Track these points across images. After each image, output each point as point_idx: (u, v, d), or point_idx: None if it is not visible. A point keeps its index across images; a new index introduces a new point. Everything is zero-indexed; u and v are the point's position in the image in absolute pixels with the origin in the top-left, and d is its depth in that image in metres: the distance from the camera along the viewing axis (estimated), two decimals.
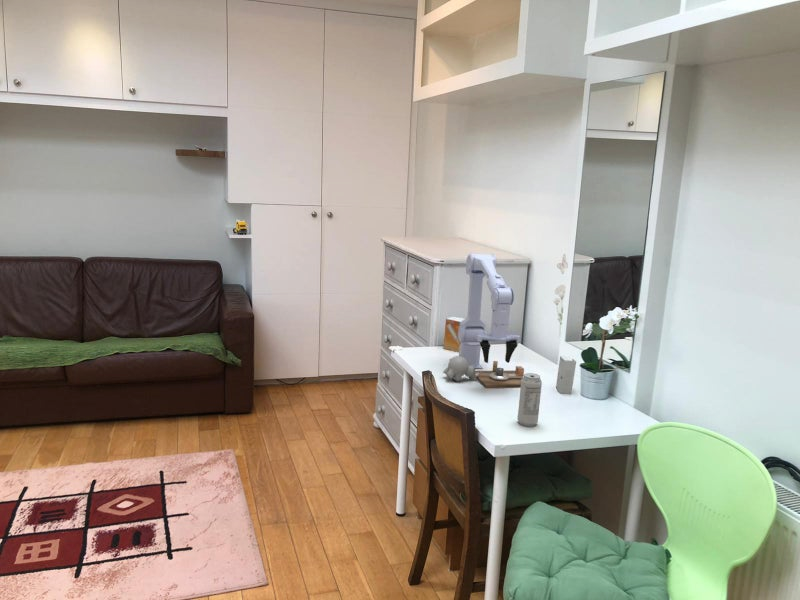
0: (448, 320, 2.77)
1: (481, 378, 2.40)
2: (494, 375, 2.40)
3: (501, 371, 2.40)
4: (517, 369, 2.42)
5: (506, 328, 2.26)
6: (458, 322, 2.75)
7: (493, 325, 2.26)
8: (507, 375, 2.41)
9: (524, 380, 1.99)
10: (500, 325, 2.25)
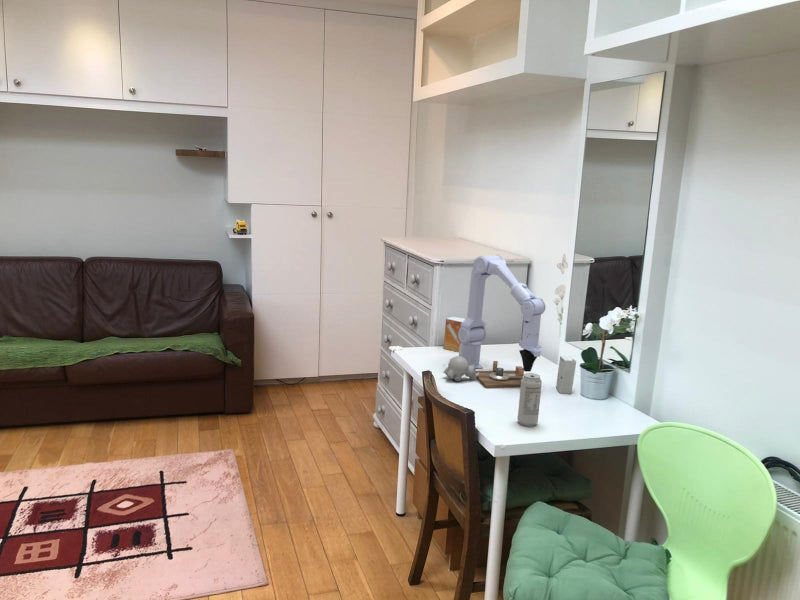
0: (448, 320, 2.77)
1: (481, 378, 2.40)
2: (494, 375, 2.40)
3: (501, 371, 2.40)
4: (517, 369, 2.42)
5: None
6: (458, 322, 2.75)
7: (536, 336, 2.31)
8: (507, 375, 2.41)
9: (524, 380, 1.99)
10: None
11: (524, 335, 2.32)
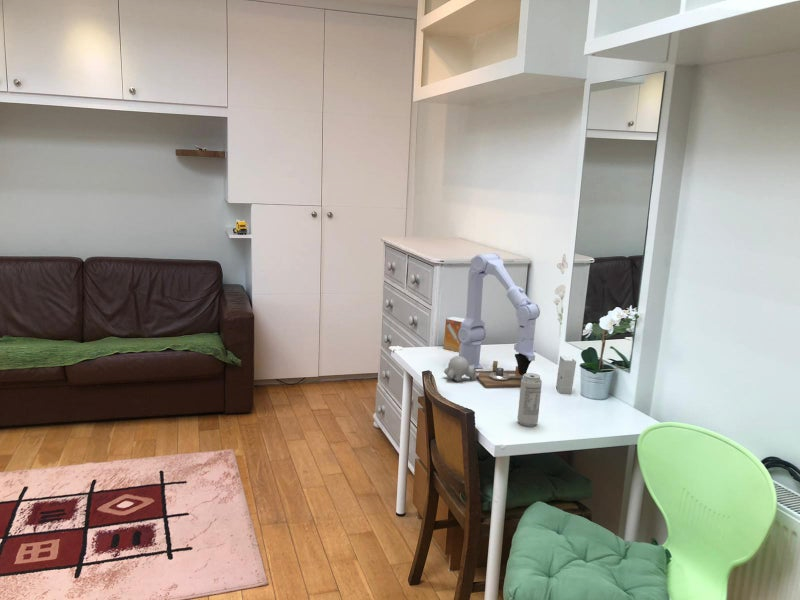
0: (448, 320, 2.77)
1: (481, 378, 2.40)
2: (494, 375, 2.40)
3: (501, 371, 2.40)
4: (517, 369, 2.42)
5: None
6: (458, 322, 2.75)
7: (531, 341, 2.35)
8: (507, 375, 2.41)
9: (524, 380, 1.99)
10: (533, 338, 2.37)
11: (519, 339, 2.36)
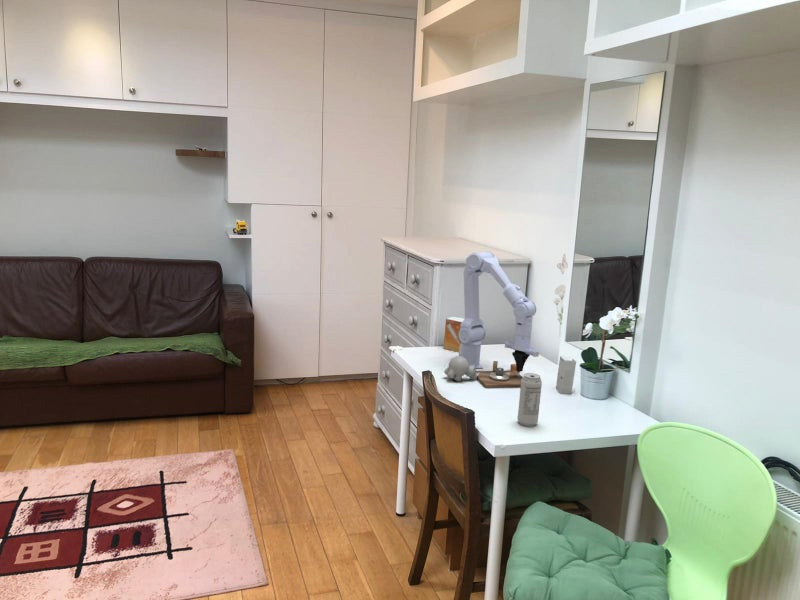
0: (448, 320, 2.77)
1: (481, 378, 2.40)
2: (495, 376, 2.40)
3: (502, 371, 2.40)
4: (513, 367, 2.44)
5: None
6: (458, 322, 2.75)
7: (530, 337, 2.39)
8: (506, 374, 2.42)
9: (524, 380, 1.99)
10: None
11: (519, 337, 2.38)
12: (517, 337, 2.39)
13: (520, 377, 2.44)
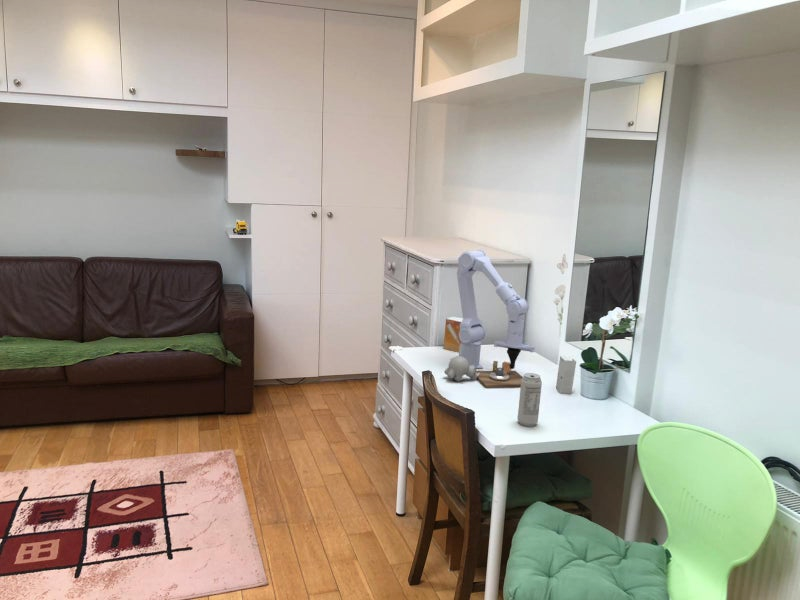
0: (448, 320, 2.77)
1: (481, 378, 2.40)
2: (498, 376, 2.39)
3: (503, 371, 2.40)
4: (506, 365, 2.46)
5: None
6: (458, 322, 2.75)
7: None
8: (503, 373, 2.43)
9: (524, 380, 1.99)
10: None
11: (516, 335, 2.41)
12: (513, 335, 2.41)
13: (520, 377, 2.44)
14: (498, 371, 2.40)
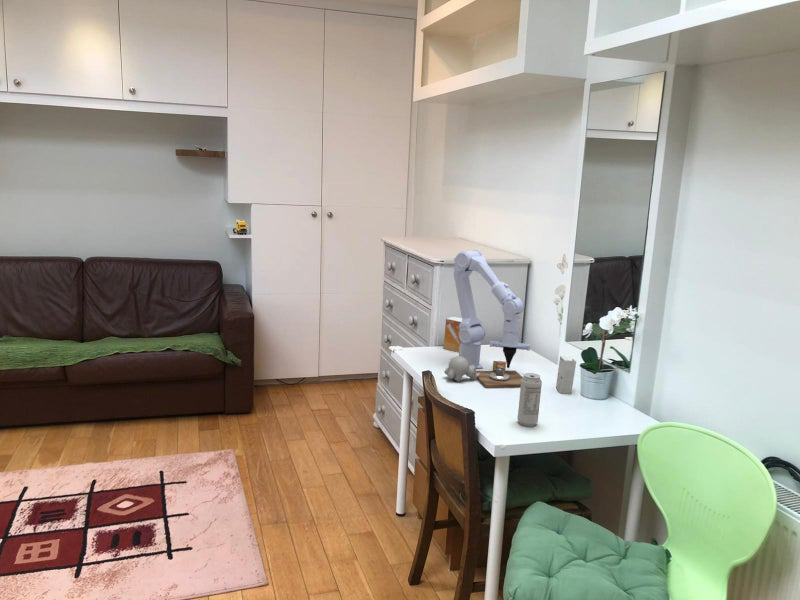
0: (448, 320, 2.77)
1: (481, 378, 2.40)
2: (499, 376, 2.39)
3: None
4: (502, 364, 2.47)
5: None
6: (458, 322, 2.75)
7: None
8: None
9: (524, 380, 1.99)
10: None
11: (513, 334, 2.42)
12: (511, 334, 2.42)
13: (520, 377, 2.44)
14: (499, 371, 2.40)
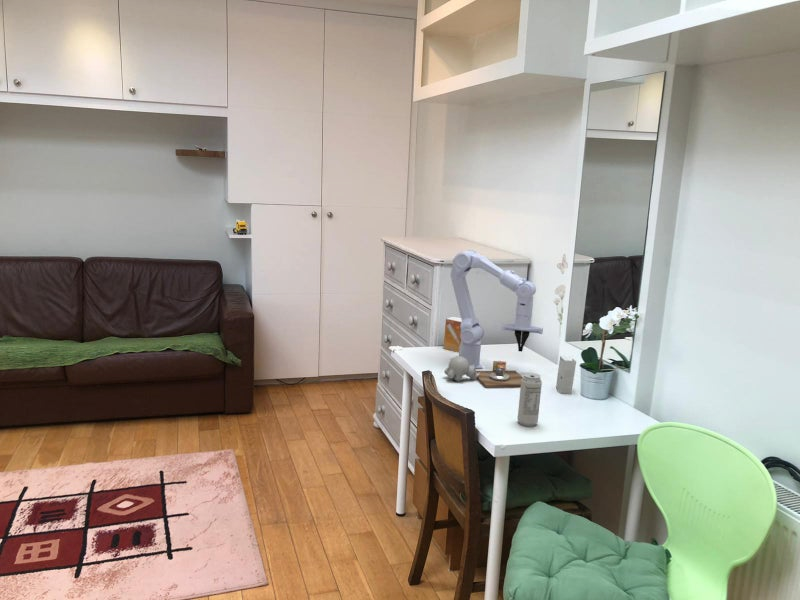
0: (448, 320, 2.77)
1: (481, 378, 2.40)
2: (499, 376, 2.39)
3: None
4: (502, 364, 2.47)
5: None
6: (458, 322, 2.75)
7: None
8: None
9: (524, 380, 1.99)
10: None
11: (526, 318, 2.43)
12: (523, 318, 2.43)
13: (520, 377, 2.44)
14: (499, 371, 2.40)
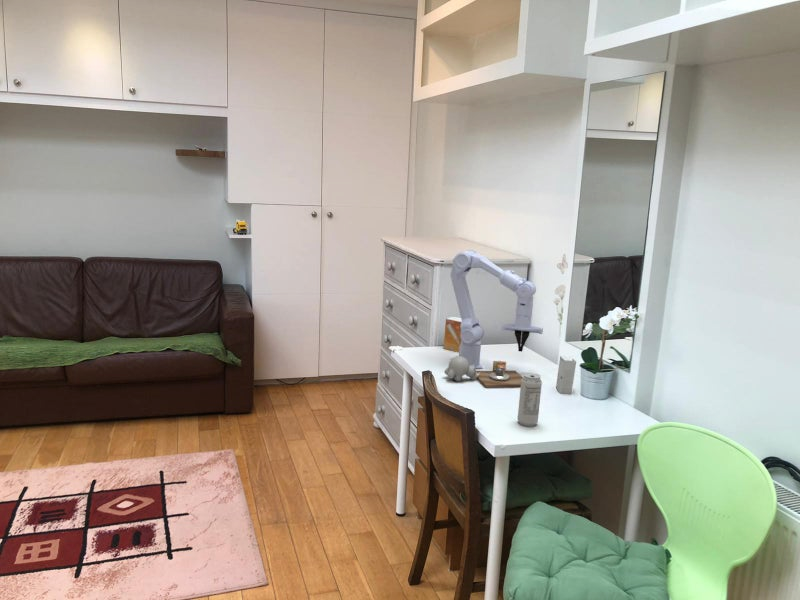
0: (448, 320, 2.77)
1: (481, 378, 2.40)
2: (499, 376, 2.39)
3: None
4: (502, 364, 2.47)
5: None
6: (458, 322, 2.75)
7: None
8: None
9: (524, 380, 1.99)
10: None
11: (526, 318, 2.43)
12: (523, 318, 2.43)
13: (520, 377, 2.44)
14: (499, 371, 2.40)
